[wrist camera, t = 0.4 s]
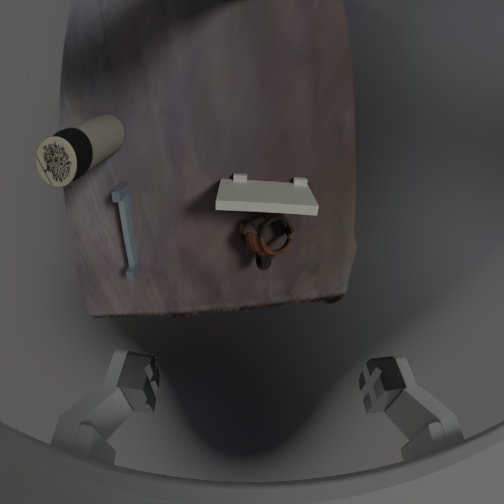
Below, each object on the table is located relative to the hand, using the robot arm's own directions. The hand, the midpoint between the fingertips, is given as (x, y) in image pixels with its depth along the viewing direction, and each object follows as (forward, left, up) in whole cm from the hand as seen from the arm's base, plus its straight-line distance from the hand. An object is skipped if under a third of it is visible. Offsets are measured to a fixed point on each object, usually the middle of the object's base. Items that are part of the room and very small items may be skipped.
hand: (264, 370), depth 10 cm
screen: (+10, +3, -46) cm, 47 cm away
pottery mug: (+20, +4, -46) cm, 50 cm away
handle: (+20, -24, -46) cm, 55 cm away
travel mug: (0, -27, -46) cm, 53 cm away
